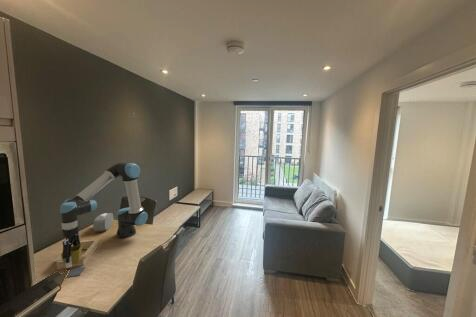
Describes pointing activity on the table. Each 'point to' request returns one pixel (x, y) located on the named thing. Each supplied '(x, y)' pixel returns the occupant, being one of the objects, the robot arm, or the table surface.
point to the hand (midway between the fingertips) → (73, 262)
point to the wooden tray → (86, 244)
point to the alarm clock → (103, 222)
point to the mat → (75, 271)
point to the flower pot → (74, 254)
